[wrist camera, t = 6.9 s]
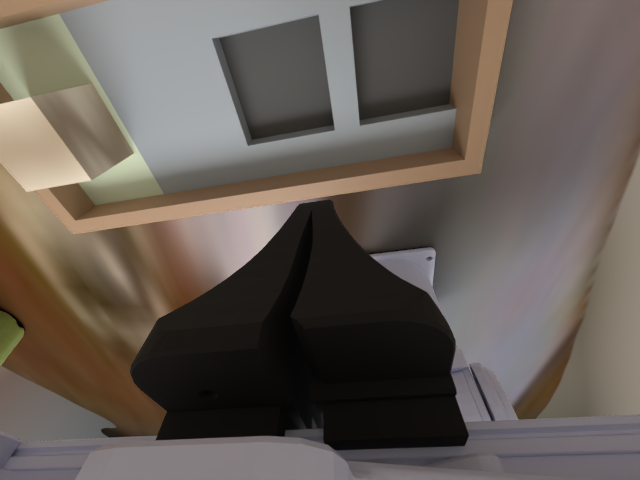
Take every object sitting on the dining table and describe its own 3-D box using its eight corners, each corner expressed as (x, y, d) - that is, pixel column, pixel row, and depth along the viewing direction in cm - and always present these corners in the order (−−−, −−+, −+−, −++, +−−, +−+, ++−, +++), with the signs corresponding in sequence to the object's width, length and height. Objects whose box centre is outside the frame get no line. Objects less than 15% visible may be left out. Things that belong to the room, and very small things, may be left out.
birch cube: (134, 153, 18) (91, 180, 14) (79, 163, 18) (26, 191, 15) (92, 83, 15) (30, 97, 12) (30, 96, 16) (-45, 113, 13)
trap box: (457, 152, 19) (480, 173, 16) (105, 208, 22) (72, 234, 19) (493, -128, 11) (546, -178, 9) (-38, 19, 15) (-122, 16, 12)
